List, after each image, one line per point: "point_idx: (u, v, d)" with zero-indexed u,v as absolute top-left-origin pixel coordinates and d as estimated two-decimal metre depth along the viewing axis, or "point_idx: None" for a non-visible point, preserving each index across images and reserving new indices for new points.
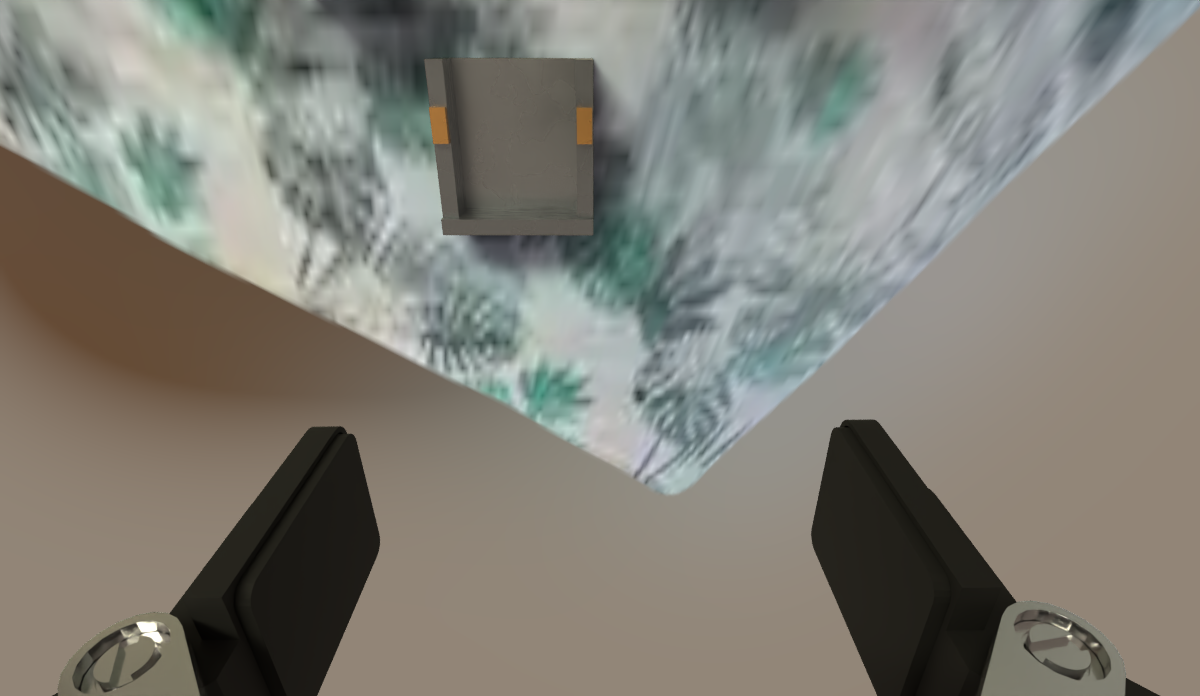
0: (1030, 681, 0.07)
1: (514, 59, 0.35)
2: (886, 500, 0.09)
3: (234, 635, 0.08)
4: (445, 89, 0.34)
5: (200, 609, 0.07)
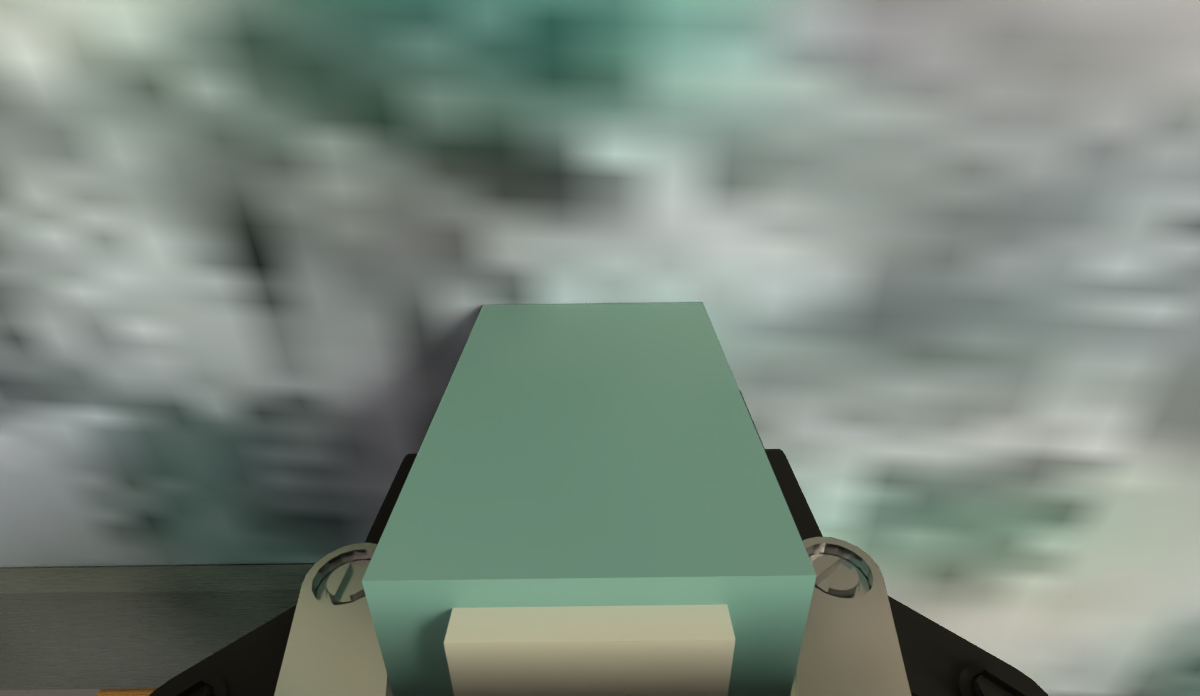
0: (825, 614, 0.07)
1: None
2: None
3: None
4: None
5: None
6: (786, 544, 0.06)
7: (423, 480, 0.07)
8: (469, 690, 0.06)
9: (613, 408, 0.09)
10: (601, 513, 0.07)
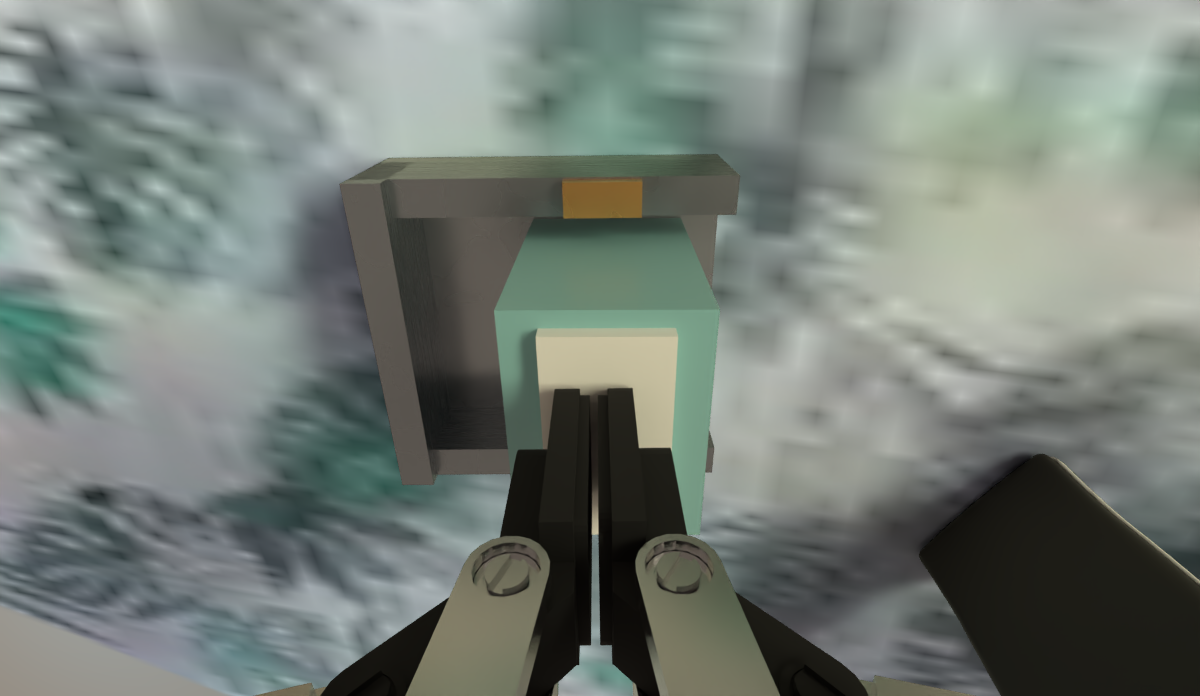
0: (679, 616, 0.07)
1: None
2: (602, 454, 0.10)
3: (571, 558, 0.09)
4: (675, 213, 0.15)
5: (551, 533, 0.09)
6: (707, 301, 0.12)
7: (515, 283, 0.13)
8: (546, 370, 0.12)
9: (619, 260, 0.14)
10: (613, 293, 0.13)
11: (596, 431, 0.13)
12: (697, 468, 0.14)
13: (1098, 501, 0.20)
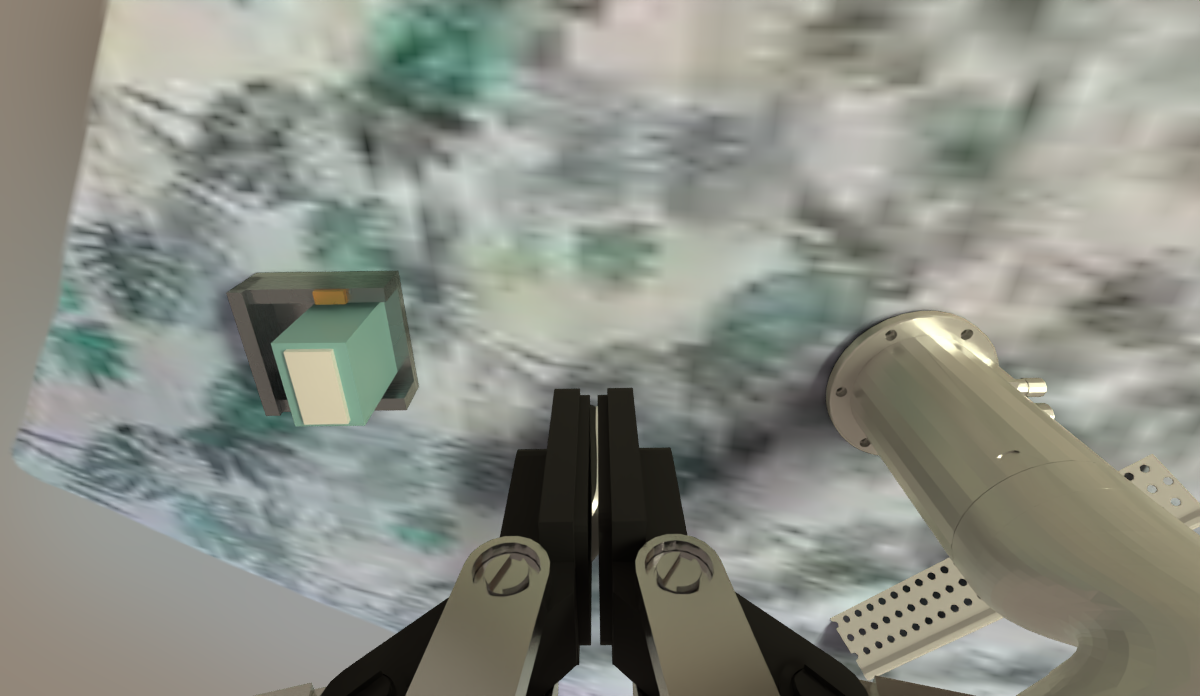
0: (679, 616, 0.07)
1: (405, 336, 0.43)
2: (602, 454, 0.10)
3: (571, 558, 0.09)
4: (362, 301, 0.39)
5: (551, 533, 0.09)
6: (345, 339, 0.36)
7: (286, 332, 0.37)
8: (289, 363, 0.35)
9: (333, 321, 0.38)
10: (316, 336, 0.36)
11: (311, 384, 0.36)
12: (355, 399, 0.37)
13: (594, 424, 0.44)
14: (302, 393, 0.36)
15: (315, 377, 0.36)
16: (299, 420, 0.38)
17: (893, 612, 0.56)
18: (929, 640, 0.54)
